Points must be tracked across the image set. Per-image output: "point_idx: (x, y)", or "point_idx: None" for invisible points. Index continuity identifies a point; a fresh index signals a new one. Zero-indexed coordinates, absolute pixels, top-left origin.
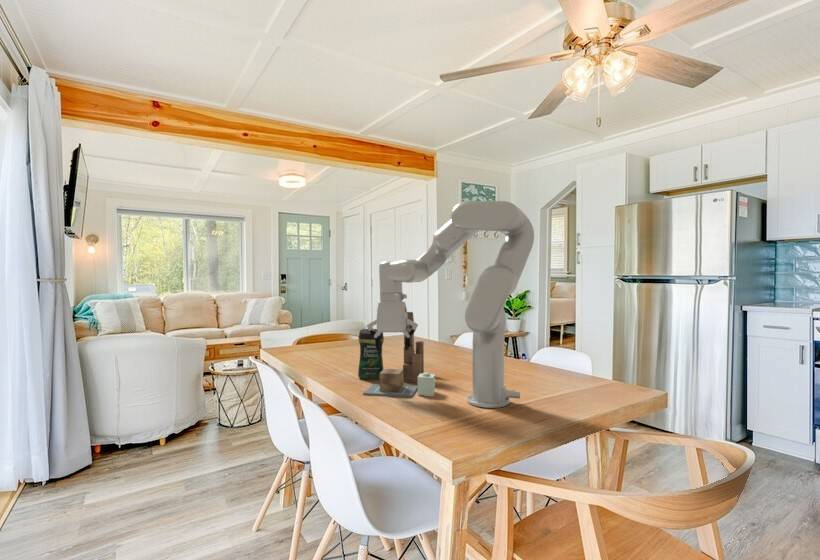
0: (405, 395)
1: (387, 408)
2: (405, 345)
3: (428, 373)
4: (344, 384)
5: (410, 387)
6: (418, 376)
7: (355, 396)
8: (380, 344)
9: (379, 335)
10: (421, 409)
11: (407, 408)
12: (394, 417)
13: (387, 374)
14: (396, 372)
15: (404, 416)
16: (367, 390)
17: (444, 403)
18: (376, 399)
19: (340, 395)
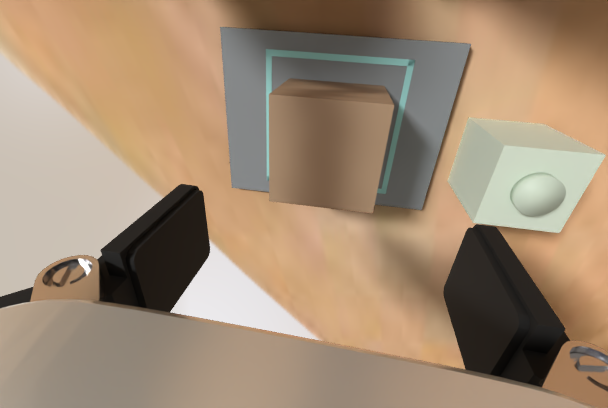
0: (396, 206)
1: (343, 299)
2: (456, 322)
3: (554, 197)
4: (83, 25)
5: (423, 89)
6: (480, 211)
7: (215, 202)
8: (184, 231)
9: (109, 301)
10: (443, 308)
11: (401, 301)
12: (368, 348)
13: (311, 203)
14: (357, 182)
15: (392, 345)
16: (235, 154)
17: (535, 265)
18: (294, 230)
19: (162, 193)
